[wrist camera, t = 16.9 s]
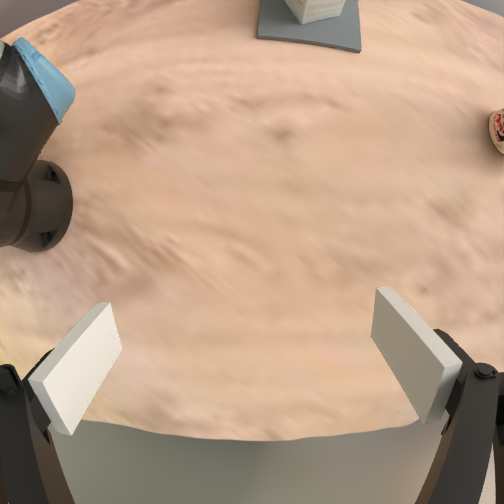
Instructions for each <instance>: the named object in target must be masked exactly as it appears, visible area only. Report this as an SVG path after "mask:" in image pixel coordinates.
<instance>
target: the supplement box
mask: <svg viewBox="0 0 504 504" xmlns="http://www.w3.org/2000/svg"><path fill="white" fill-rule="evenodd" d="M284 1H285V3H286V4H287V5H288V7H289V8H290V10H291V11H292V12H293V14H294V15H295V17H296V18H297V20H298V21H299V22H300V24H301V25H302V24H306V23H310V22H314V21H318V20H323V19H327V18H332V17H337V16H340V13H341V11H342V8H343V6H344V3H345V1H346V0H284Z"/></svg>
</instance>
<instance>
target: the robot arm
mask: <svg viewBox="0 0 504 504" xmlns="http://www.w3.org/2000/svg"><path fill="white" fill-rule="evenodd" d="M74 99H75V89H74V86H73V85H72V84H71V83H70V81H69V80H68V79H67V78H66V77H65V76H64V75H63V74H62V73H61V72H60V71H59V70H58V69H57V68H56V67H55V66H54V65H53V64H52V63H51V62H50V61H48V60H47V59H46V58H45V57H44V56H43V55H41V54H40V52H39V51H37V50H36V49H35V48H34V47H33V46H32V45H31V44H30V43H29V42H28V41H27V40H25V39H24V38H19V39H18V40H17V41H14V42H13V44H12V46H10V45H8V44H7V43H5V42H4V41H2V40H0V247H3V246H8V245H11V246H14V247H17V248H20V249H22V250H25V251H29V252H39V251H44V250H48V249H50V248H52V247H54V246H55V245H56V244H57V243H58V242H59V241H60V240H61V239H62V238H63V236H64V234H65V233H66V231H67V228H68V226H69V223H70V220H71V215H72V208H73V197H72V190H71V186H70V182H69V180H68V178H67V176H66V174H65V173H64V171H63V170H62V169H61V168H60V167H59V166H58V165H56V164H55V163H52V162H49V161H44V160H36V159H37V158H38V156H39V154H40V152H41V151H42V149H43V148H44V146H45V144H46V143H47V141H48V139H49V138H50V136H51V135H52V133H53V132H54V130H55V129H56V127H57V126H58V125H60V124H61V122H62V118H63V117H64V115H65V114H66V112H67V111H68V109H69V107H70V106H71V105H72V103H73V101H74ZM371 337H372V339H373V341H374V342H375V344H376V345H377V347H378V349H379V350H380V352H381V353H382V355H383V357H384V358H385V360H386V362H387V363H388V365H389V367H390V368H391V370H392V372H393V373H394V375H395V377H396V378H397V380H398V382H399V383H400V385H401V387H402V388H403V390H404V392H405V393H406V395H407V397H408V399H409V400H410V402H411V404H412V406H413V407H414V409H415V411H416V413H417V414H418V416H419V418H420V419H421V421H422V423H423V425H426V424H429V423H432V422H435V421H439V420H441V417H442V415H443V412H444V410H445V409H446V410H447V412H448V413H449V415H450V416H449V418H448V420H447V422H446V424H445V427H444V429H443V431H442V433H441V435H442V438H441V441H440V444H439V447H438V450H437V453H436V455H435V458H434V461H433V463H432V466H431V468H430V471H429V473H428V476H427V478H426V480H425V483H424V485H423V487H422V489H421V492H420V494H419V496H418V498H417V500H416V502H415V504H478V503H479V499H480V496H481V492H482V489H483V484H484V481H485V477H486V472H487V468H488V463H489V458H490V453H491V448H492V442H493V450H494V462H495V483H496V504H504V372H501V373H498V371H497V370H496V369H495V368H494V367H493V366H491V365H489V364H486V363H475V362H474V361H473V360H472V359H471V358H470V357H469V356H468V355H467V353H466V352H465V351H464V350H463V349H462V348H461V347H459V345H458V344H457V343H456V342H454V340H453V339H452V338H451V337H450V336H449V335H448V334H447V333H445V332H443V331H441V330H440V329H434V330H432V329H431V328H430V327H429V325H428V324H427V323H426V322H425V321H424V320H423V319H422V318H421V317H420V316H419V315H418V314H417V313H416V312H415V311H414V310H413V309H412V308H411V307H410V306H409V305H408V304H407V303H406V302H405V301H404V300H403V299H402V298H401V297H400V296H399V295H398V294H397V293H396V292H395V291H394V290H393V289H392V288H391V287H390V286H388V287H379V288H376V295H375V305H374V314H373V323H372V331H371ZM122 349H123V348H122V345H121V341H120V338H119V334H118V331H117V327H116V323H115V320H114V316H113V312H112V308H111V304H110V303H97V304H96V305H95V306H94V307H93V308H92V309H91V310H90V311H89V312H88V313H87V314H86V315H85V316H84V317H83V318H82V319H81V320H80V321H79V323H78V324H77V325H76V326H75V327H74V328H73V329H72V330H71V331H70V332H69V333H68V334H67V335H66V336H65V338H64V339H63V340H62V341H61V342H60V343H59V344H58V345H57V346H56V347H55V348H53V349H52V350H50V351H49V352H47V353H46V354H45V355H44V356H43V357H42V358H41V359H40V361H38V363H37V364H36V365H35V367H33V368H32V369H31V371H30V372H29V373H28V374H27V375H26V376H25V377H24V379H23V380H22V381H21V380H20V378H19V376H18V374H17V372H16V369H15V367H14V366H13V365H11V364H4V365H0V504H8V502H9V504H75V502H74V500H73V497H72V495H71V493H70V490H69V487H68V485H67V482H66V480H65V477H64V474H63V471H62V468H61V465H60V462H59V459H58V456H57V453H56V450H55V447H54V443H53V440H52V437H51V433H50V432H49V430H48V428H47V427H48V426H49V424H50V422H51V423H52V425H53V426H54V428H55V430H56V431H57V432H59V433H63V434H66V435H71V436H72V434H73V432H74V431H75V429H76V427H77V425H78V423H79V421H80V420H81V418H82V416H83V414H84V413H85V411H86V409H87V407H88V406H89V404H90V402H91V400H92V399H93V397H94V395H95V394H96V392H97V390H98V388H99V387H100V385H101V383H102V382H103V380H104V378H105V377H106V375H107V373H108V372H109V370H110V368H111V367H112V365H113V363H114V362H115V360H116V358H117V357H118V355H119V354H120V352H121V350H122Z"/></svg>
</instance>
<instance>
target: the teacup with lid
mask: <svg viewBox="0 0 504 504" xmlns="http://www.w3.org/2000/svg"><path fill="white" fill-rule="evenodd" d="M489 132H490V136H491V138H492V141H493V143H494V145H495V146H496V148H497V149H498V150H499V151H500V152H501V153H502V154H504V109H501V110H498V111H496V112H494V113H492V115H491V116H490V119H489Z"/></svg>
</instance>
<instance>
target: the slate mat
mask: <svg viewBox="0 0 504 504" xmlns="http://www.w3.org/2000/svg"><path fill="white" fill-rule="evenodd" d="M257 39H270V40H281V41H290V42H299V43H306V44H313V45H320V46H326V47H332V48H337V49H342V50H347V51H352V52H357V53H360V52H361V34H360V20H359V9H358V0H346V1H345V3H344V6H343V8H342V11H341V13H340V16H337V17H332V18H327V19H323V20H318V21H314V22H310V23H306V24H302V25H301V24H300V22H299V21H298V20H297V18H296V17H295V15H294V14H293V12H292V11H291V10H290V8H289V7H288V5H287V4H286V3H285V1H284V0H261V8H260V17H259V26H258V35H257Z"/></svg>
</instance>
